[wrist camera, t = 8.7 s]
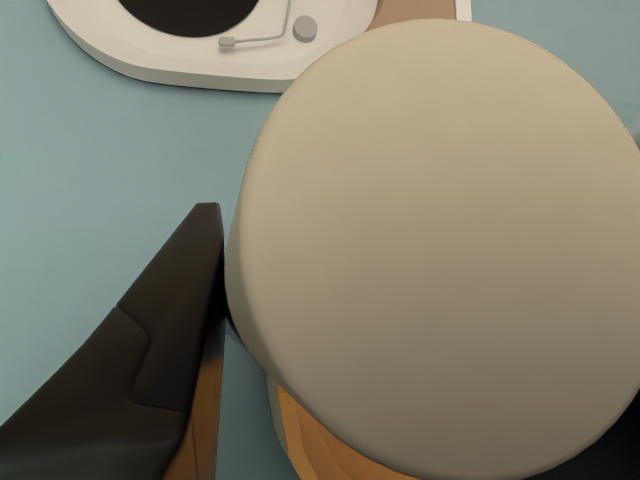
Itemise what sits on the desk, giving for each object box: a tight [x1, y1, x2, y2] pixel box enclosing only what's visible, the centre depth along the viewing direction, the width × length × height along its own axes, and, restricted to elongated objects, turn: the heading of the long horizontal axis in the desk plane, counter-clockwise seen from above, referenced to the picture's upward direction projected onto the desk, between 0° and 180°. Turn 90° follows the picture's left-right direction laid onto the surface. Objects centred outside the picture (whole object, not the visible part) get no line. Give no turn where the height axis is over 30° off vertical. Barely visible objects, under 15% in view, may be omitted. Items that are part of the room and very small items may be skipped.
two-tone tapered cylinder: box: [223, 18, 640, 480], centre depth 9 cm, size 3×3×13 cm
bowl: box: [266, 374, 421, 480], centre depth 21 cm, size 14×14×4 cm
